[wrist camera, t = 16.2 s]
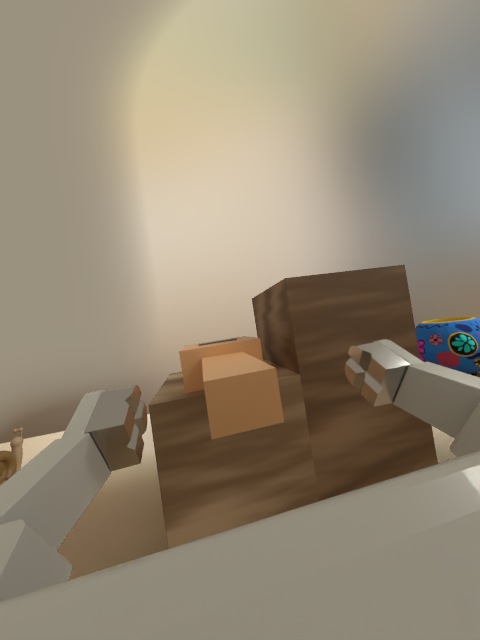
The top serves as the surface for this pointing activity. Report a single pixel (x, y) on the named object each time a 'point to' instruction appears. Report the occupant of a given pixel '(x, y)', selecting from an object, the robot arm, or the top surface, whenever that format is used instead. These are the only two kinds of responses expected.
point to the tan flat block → (233, 384)
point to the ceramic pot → (450, 343)
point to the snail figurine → (11, 458)
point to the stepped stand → (294, 411)
